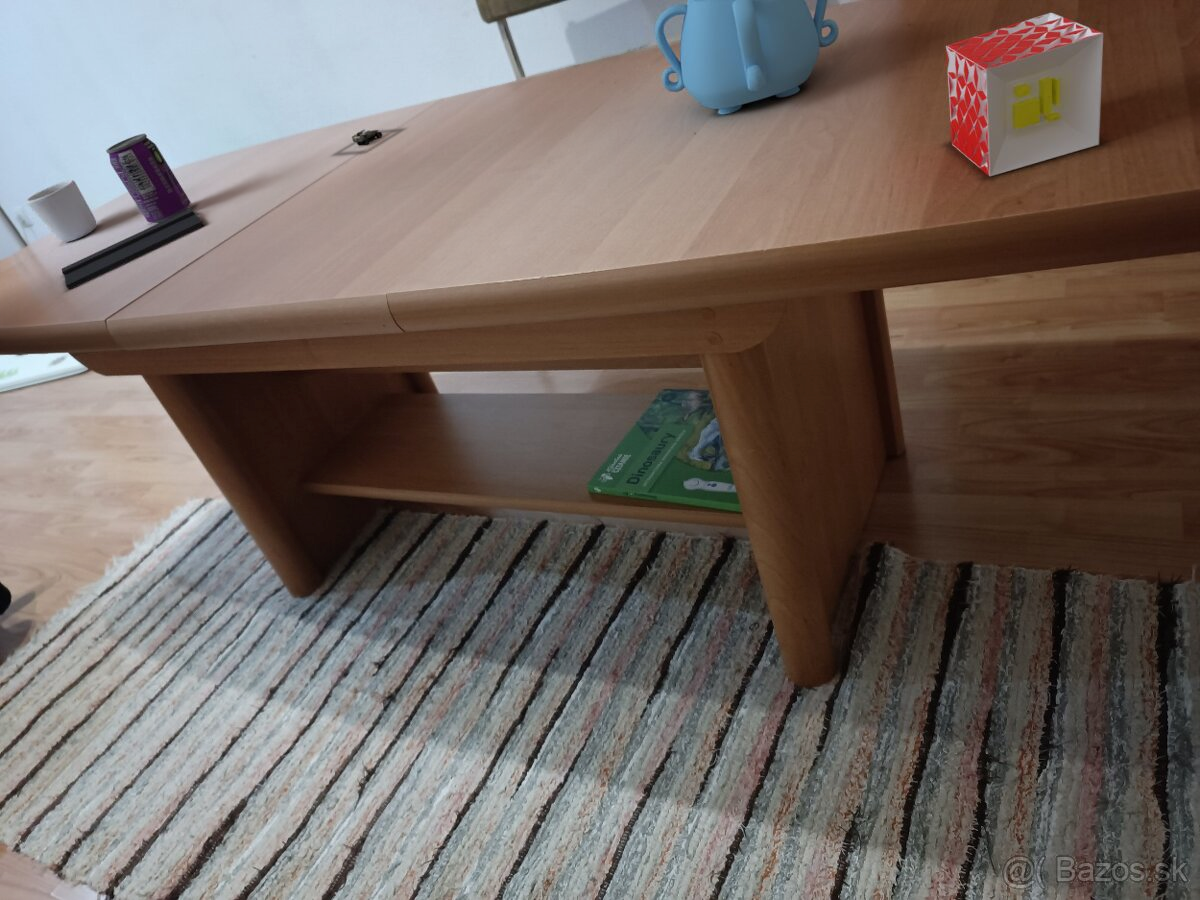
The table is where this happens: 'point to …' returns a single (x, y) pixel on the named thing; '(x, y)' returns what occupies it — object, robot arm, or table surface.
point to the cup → (63, 211)
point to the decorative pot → (743, 49)
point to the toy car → (366, 137)
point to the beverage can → (148, 178)
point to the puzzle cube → (1025, 92)
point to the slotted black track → (130, 248)
